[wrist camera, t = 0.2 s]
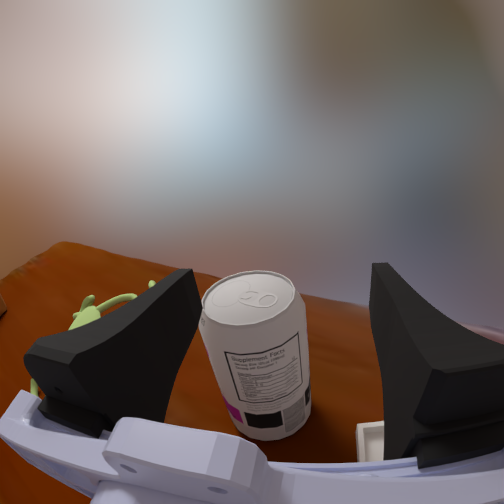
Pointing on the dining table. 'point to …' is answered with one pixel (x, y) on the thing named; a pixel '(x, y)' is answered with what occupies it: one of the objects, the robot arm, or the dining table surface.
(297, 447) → the dining table surface
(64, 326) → the dining table surface
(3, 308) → the coffee package
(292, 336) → the supplement can
